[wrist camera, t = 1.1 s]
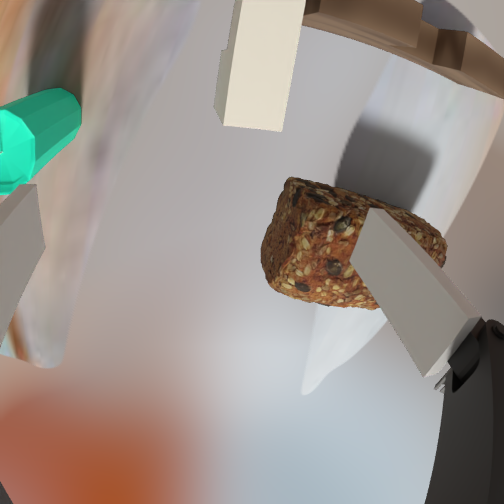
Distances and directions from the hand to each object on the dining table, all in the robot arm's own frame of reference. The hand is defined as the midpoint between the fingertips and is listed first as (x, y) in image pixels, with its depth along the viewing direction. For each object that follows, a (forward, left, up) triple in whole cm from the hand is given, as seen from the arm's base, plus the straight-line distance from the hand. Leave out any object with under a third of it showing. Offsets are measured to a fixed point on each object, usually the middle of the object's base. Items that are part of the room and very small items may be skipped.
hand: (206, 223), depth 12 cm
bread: (+10, +18, -19) cm, 28 cm away
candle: (0, -13, -19) cm, 23 cm away
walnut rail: (-12, +18, -19) cm, 28 cm away
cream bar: (-9, +4, -19) cm, 21 cm away
